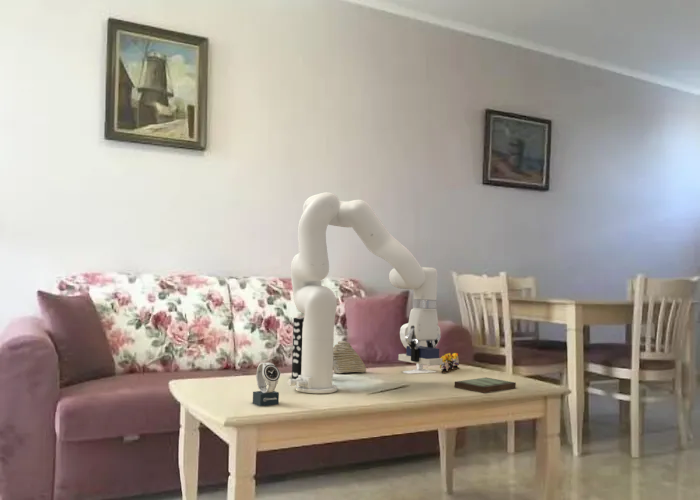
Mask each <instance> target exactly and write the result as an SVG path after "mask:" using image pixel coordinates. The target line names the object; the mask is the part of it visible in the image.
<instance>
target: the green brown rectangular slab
mask: <svg viewBox="0 0 700 500" xmlns="http://www.w3.org/2000/svg"><path fill="white" fill-rule="evenodd" d="M454 388H455V389H461V390H468V391H471V392H476V393H481V394H487V393H494V392H500V391H506V390H513V389H514V390H515V389H516V388H517V382H516V381H515V382H514V381H510V380H509V381H508V380H503V379H498V378H491V377H479V378H472V379H464V380H457V381H454Z"/></svg>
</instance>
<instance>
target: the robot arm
mask: <svg viewBox="0 0 700 500" xmlns="http://www.w3.org/2000/svg"><path fill="white" fill-rule="evenodd" d="M302 211H303V212H302V214H301V217H300V219H299V220H298V221H299V222H298V225H297V242H298V246H297V247H298V253H296V254H295V255H294V256H293V258H292V260H291V262H290V278H291V279H290V280H291V286H292V295H293V300H294V305H295V307H296V309H297V310H298V311H299V312H300V313H302V314H304V317H303V318H304V322H303V330H302V366H301V375H298V378H296V379H292V378H289V379H287V385H288V387H294V386H295V390H296V391H297V392H300V393H305V394H331V393H335V392H337V391H338V386H337V385H336V384H333V380H334V379H333V377H334V376H333V374H334V371H333V347H334V343H335V342H334V340H335V339H334V338H335V337H334V336H335V334H334V333H335V321H336V315H337V307H338V301H337V297H336V295H335V293H334V292H333V291H332V289H330V288H328V287H327V286H325V285H322V280H324V279H325V278H327V276H328V274H329V272H330V262H329V255H328V247H327V229H328V225H329V226H333V227H341V228H352V229H353V231H354V233H356V235H357V236H358V237H359V239H360V240H361V241H362V243H363V244H364V245H365V247H366V248H367V250H368V251H369V252H371V253H372V254H373V255H375V256H376V257H379V258H380V259H382V260H385V261H386V262H387V263H388V264H389V265H390V266H391V267H393V268H391V270H390V271H389V274H388V279H389V281H388V282H389V283H390V284H391V285H392V286H393V287H395V288H397V289H400V290H401V289H402V290H413V293H412V294H413V296H412V308H411V309H410V312H409V317H408V322H407V323H408V332H407V335H406V337H405V339H406V341H407V342H408V344H409V346H410V348H411V361H414V362H419V352H420V349H418V347H419V344H420V341H424V340H426V343H427V347H431V348H437V346H436V344H437V343H438V344H439V342H440V340H441V337H442V336H441V334H440V335H439V333H438V326H439V319H438V310H437V306H438V303H437V299H438V298H437V297H438V296H437V295H438V275H439V273H438V270H437V268H435V267H430V266H429V267H428V266H421V264H420V263H419V260H418V259H416V257H415V256H414V255H413V253H412V252H411V251H410V250H409V249H408V248H407V247H406V246H405V245H403V244H402V243H401V242H400V241H399V240H398V239H397V238H395V237H394V235H392V234H391V233H390V232H389V230H388V229H387V227H386V226H385V225H384V224H383V222H382V221H381V219H380V218H379V216H378V215H377V214H376V212H375V210H374V209H373V208H372V206H371V205H370V204H369V203H368V202H367V201H366V200H363V199H353V200H348V201H347V200H340V199H339V197H338V195H336V194H335V193H333V192H329V191H324V192H320V193H317V194H313V195H311V196H308V197H307V199H305V200H304V202H303V205H302ZM439 339H440V340H439ZM438 341H439V342H438ZM415 342H416V344H415ZM438 344H437V345H438Z"/></svg>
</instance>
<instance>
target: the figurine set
mask: <svg viewBox="0 0 700 500" xmlns="http://www.w3.org/2000/svg"><path fill="white" fill-rule="evenodd" d="M440 358H442V365H439V368H440V370H441V374H446V373H450V372H452V371H456V370H460V369H461V368H460V367H459V366H460V363H459V362H460V361H459V353H458V352H453V353H452V354H451V352H448V353H444V355H441V357H440Z"/></svg>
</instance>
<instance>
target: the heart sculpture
mask: <svg viewBox="0 0 700 500" xmlns="http://www.w3.org/2000/svg"><path fill="white" fill-rule="evenodd" d="M399 328H400V329H399V338H400V342H401V344H402V345H403V347H404V348H405V349H406V348H407V346H409V344H408V342H407V341H406V339H405V337H406V335H407V332H408V322H407V323H404V324H403V325H401V327H399ZM438 333H439V335H440V336H441V333H442V332H441V327H440V326H439V325H438ZM440 340H441V338H440V339H439V341H438V343H437V344H436V347H437V346H438V344H439V342H440ZM415 344H416V342H415ZM419 346H425V347H427V343H426V340H424V341H420V344H419ZM415 365H416V369H410V370H403V371H402V373H403V374H409V375H410V374H411V375H412V374H427V373H428V374H429V373H437V371H436V370H431V369H426V368H424V365H422V364H417V363H415Z"/></svg>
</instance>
